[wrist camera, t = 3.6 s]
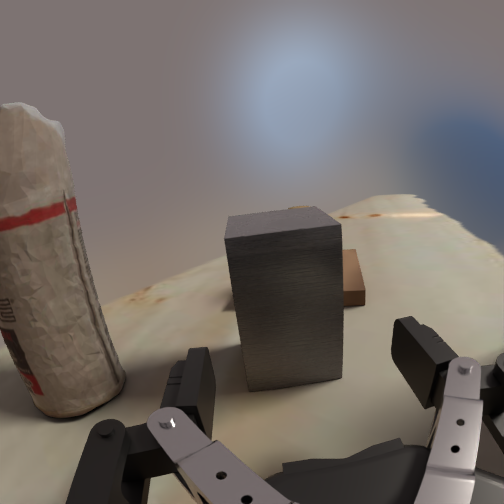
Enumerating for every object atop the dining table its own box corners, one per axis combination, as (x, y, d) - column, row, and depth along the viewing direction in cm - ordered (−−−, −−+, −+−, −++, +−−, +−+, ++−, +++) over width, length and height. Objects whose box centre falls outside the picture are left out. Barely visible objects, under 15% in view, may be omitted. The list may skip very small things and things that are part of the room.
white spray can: (33, 373, 21) (-31, 139, 16) (113, 346, 26) (62, 113, 20) (35, 435, 14) (-65, 117, 9) (140, 400, 19) (66, 79, 13)
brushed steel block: (249, 391, 19) (224, 238, 16) (247, 342, 25) (228, 216, 22) (341, 377, 19) (341, 224, 16) (321, 331, 25) (315, 206, 22)
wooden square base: (238, 308, 31) (225, 225, 28) (262, 264, 42) (254, 202, 39) (365, 304, 28) (364, 217, 25) (355, 260, 39) (353, 196, 36)
